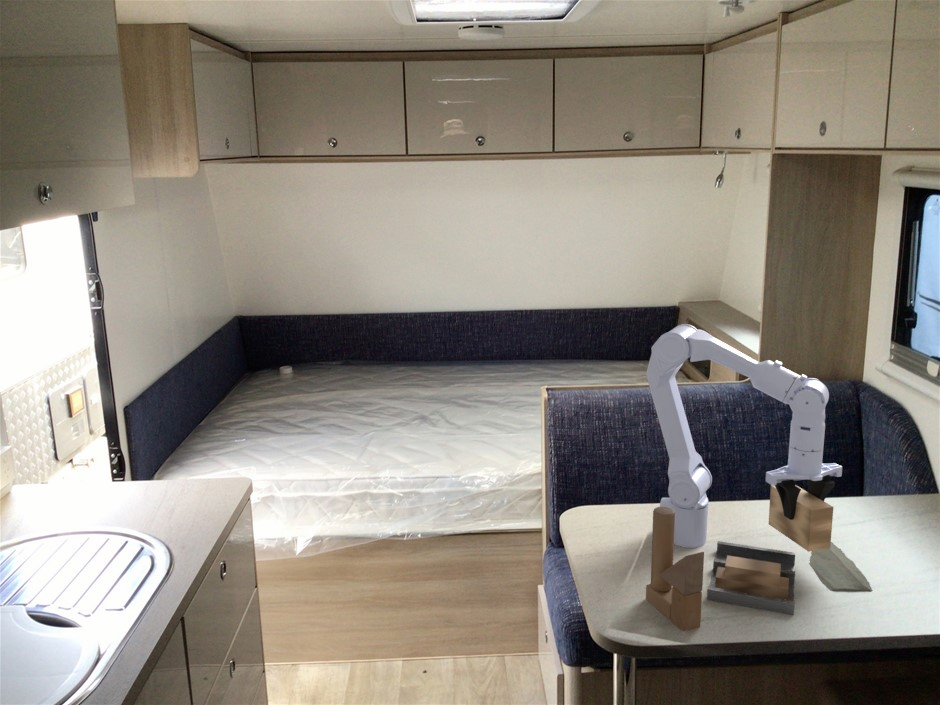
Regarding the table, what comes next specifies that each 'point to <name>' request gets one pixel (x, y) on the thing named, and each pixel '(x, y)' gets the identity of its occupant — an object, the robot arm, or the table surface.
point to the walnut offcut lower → (752, 586)
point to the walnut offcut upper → (752, 571)
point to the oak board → (803, 520)
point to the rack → (746, 598)
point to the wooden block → (674, 575)
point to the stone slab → (838, 570)
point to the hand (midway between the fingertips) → (800, 515)
